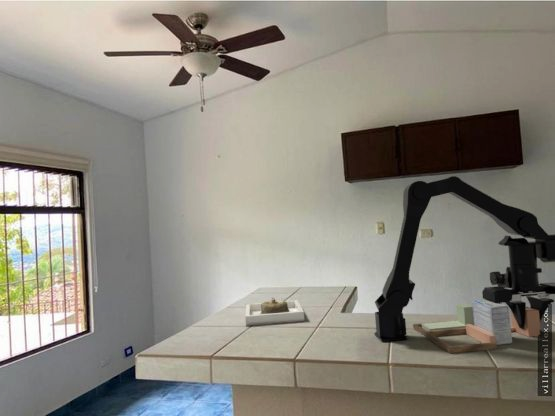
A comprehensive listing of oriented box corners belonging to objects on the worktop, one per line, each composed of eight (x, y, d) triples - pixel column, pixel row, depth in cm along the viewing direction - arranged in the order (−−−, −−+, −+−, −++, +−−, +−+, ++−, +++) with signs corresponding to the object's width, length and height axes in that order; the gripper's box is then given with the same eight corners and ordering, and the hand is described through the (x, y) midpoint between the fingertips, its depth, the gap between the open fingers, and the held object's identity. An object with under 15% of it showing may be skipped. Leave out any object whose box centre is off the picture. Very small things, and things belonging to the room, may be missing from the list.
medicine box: (512, 344, 90) (509, 305, 90) (494, 345, 90) (490, 307, 90) (492, 334, 98) (489, 298, 98) (474, 335, 97) (471, 300, 98)
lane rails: (449, 353, 87) (449, 347, 87) (413, 328, 106) (412, 324, 106) (497, 348, 87) (496, 343, 87) (452, 325, 107) (451, 320, 107)
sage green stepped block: (430, 334, 100) (428, 311, 100) (422, 329, 105) (420, 306, 105) (478, 330, 101) (476, 307, 101) (467, 325, 106) (465, 302, 106)
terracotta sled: (490, 346, 89) (488, 319, 89) (466, 334, 99) (464, 309, 99) (554, 341, 90) (552, 314, 90) (523, 329, 100) (521, 305, 100)
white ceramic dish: (245, 325, 121) (245, 316, 121) (246, 312, 139) (246, 304, 139) (304, 320, 122) (303, 311, 122) (297, 308, 140) (297, 300, 140)
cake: (287, 318, 126) (285, 301, 126) (256, 319, 128) (254, 303, 128) (291, 308, 136) (290, 293, 136) (263, 309, 138) (261, 294, 138)
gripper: (536, 257, 105) (541, 317, 105) (468, 262, 104) (472, 322, 103) (569, 262, 94) (575, 328, 93) (493, 267, 93) (499, 334, 92)
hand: (528, 328), depth 96 cm, fingers closed on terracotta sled, 3 cm apart
